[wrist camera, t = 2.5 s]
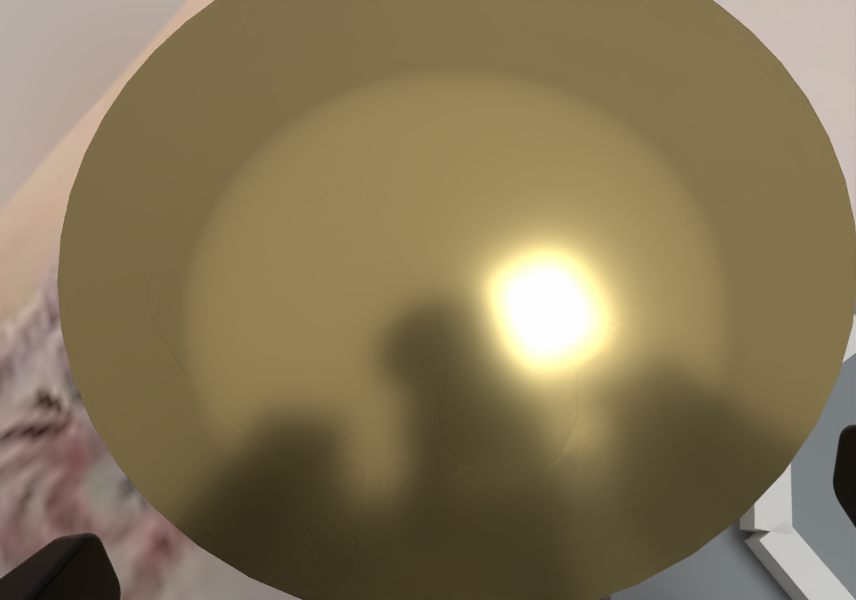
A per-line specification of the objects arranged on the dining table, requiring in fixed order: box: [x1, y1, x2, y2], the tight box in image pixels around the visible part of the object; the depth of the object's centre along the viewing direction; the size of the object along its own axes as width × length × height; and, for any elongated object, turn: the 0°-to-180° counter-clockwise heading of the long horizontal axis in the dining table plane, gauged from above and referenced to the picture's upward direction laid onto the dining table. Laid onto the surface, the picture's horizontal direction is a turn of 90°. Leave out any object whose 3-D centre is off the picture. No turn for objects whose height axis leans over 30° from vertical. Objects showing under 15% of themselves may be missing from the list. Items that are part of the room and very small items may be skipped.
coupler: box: [58, 0, 856, 600], centre depth 10 cm, size 5×5×14 cm
